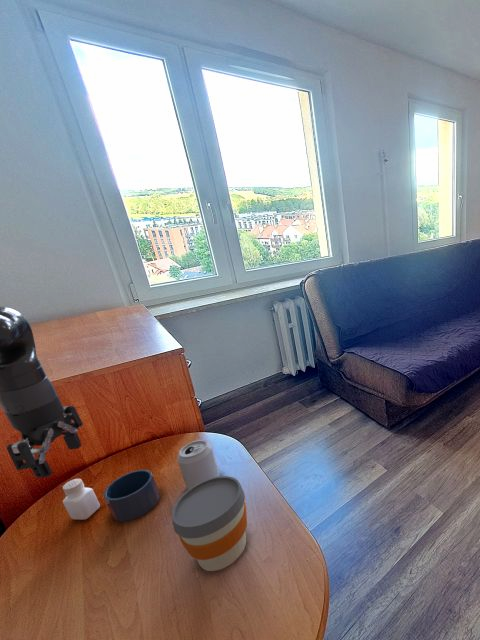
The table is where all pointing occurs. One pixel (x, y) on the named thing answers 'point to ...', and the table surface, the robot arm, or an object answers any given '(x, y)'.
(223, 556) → the reusable coffee cup
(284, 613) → the table surface
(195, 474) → the can
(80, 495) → the salt shaker
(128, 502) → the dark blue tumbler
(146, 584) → the table surface
